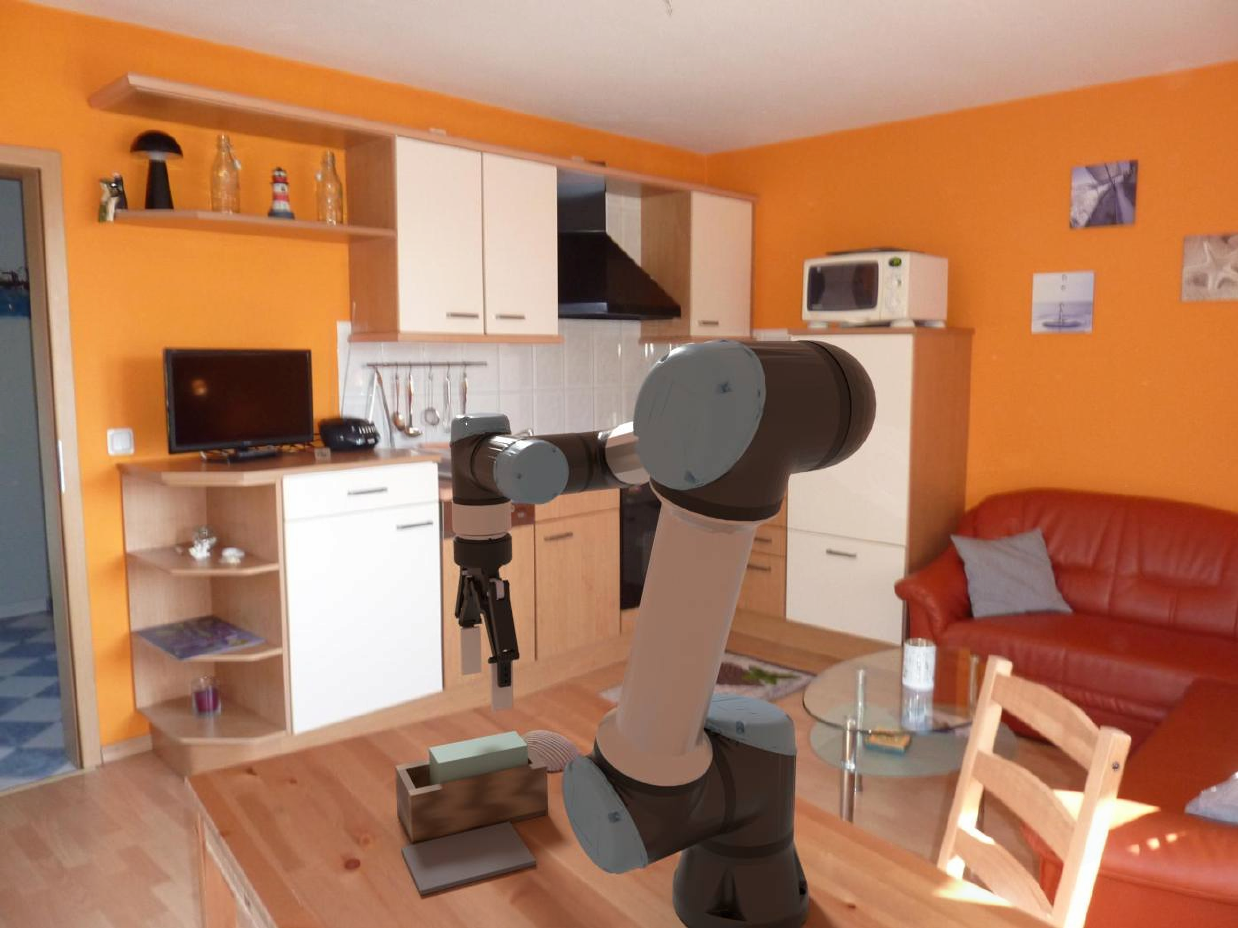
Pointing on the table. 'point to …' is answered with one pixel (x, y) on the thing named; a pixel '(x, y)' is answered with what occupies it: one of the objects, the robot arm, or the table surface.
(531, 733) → the seashell
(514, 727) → the table surface
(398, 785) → the frame
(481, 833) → the mat
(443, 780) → the part
